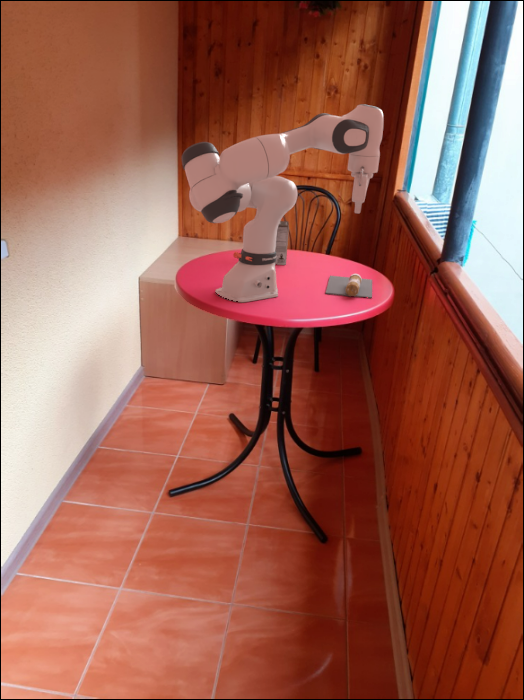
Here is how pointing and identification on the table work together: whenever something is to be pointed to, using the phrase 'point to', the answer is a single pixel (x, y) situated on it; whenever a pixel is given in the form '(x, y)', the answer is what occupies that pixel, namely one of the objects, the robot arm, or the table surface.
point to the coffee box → (282, 243)
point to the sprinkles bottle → (353, 285)
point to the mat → (340, 283)
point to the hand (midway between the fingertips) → (357, 212)
